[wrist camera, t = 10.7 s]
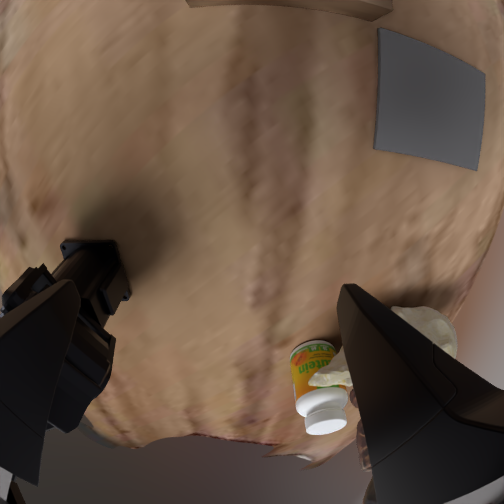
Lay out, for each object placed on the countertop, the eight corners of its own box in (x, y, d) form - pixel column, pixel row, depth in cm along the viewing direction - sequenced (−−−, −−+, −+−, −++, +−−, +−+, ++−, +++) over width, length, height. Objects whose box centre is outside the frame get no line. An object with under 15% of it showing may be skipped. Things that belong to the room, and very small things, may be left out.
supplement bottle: (332, 333, 28) (353, 410, 19) (336, 359, 30) (354, 428, 22) (284, 346, 29) (294, 425, 20) (294, 371, 31) (304, 441, 23)
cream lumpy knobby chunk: (440, 300, 29) (476, 289, 16) (442, 354, 27) (478, 377, 14) (332, 314, 36) (303, 313, 22) (334, 366, 34) (305, 396, 21)
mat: (373, 148, 18) (375, 149, 18) (377, 28, 13) (379, 27, 13) (474, 169, 18) (477, 171, 18) (482, 73, 13) (485, 73, 13)
